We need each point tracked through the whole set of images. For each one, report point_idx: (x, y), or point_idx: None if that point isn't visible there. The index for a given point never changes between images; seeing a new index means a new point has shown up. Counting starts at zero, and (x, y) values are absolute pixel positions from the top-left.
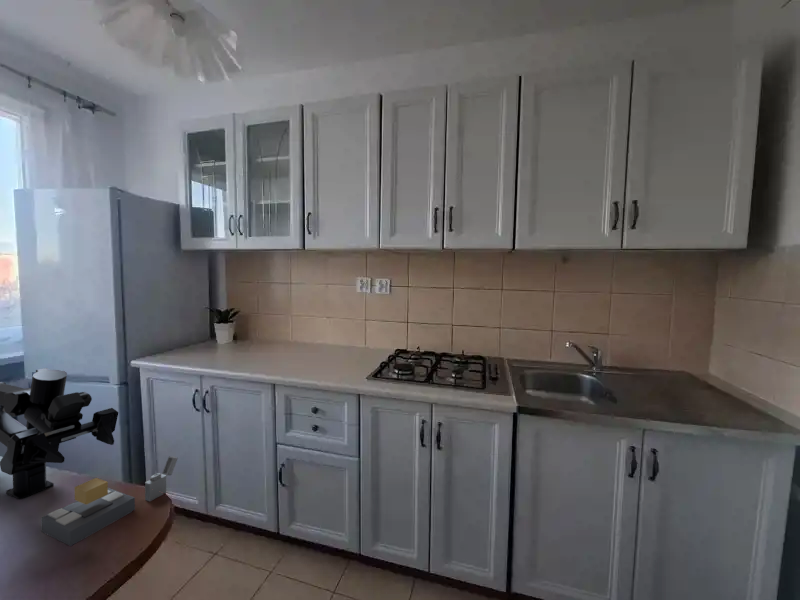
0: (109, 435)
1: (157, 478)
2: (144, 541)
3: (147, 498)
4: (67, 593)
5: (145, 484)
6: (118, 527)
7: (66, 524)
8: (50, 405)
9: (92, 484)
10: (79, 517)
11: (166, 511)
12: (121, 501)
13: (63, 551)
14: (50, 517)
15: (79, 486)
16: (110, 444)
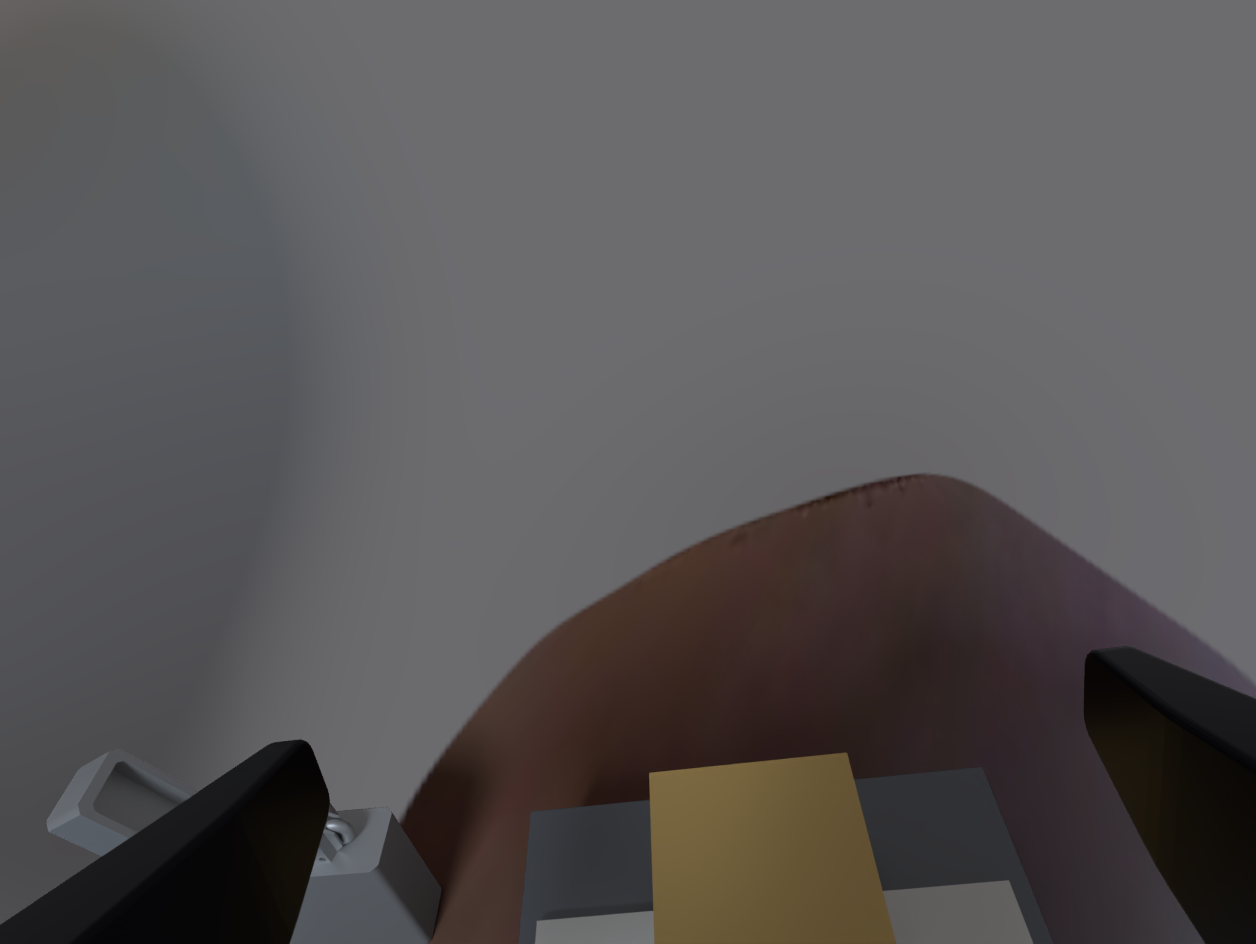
0: (183, 832)
1: None
2: (706, 567)
3: (431, 899)
4: (1027, 518)
5: (385, 868)
6: None
7: (991, 884)
8: None
9: (754, 848)
10: (894, 896)
11: (499, 688)
12: (605, 845)
13: (1013, 810)
14: None
15: (860, 929)
16: (318, 840)
